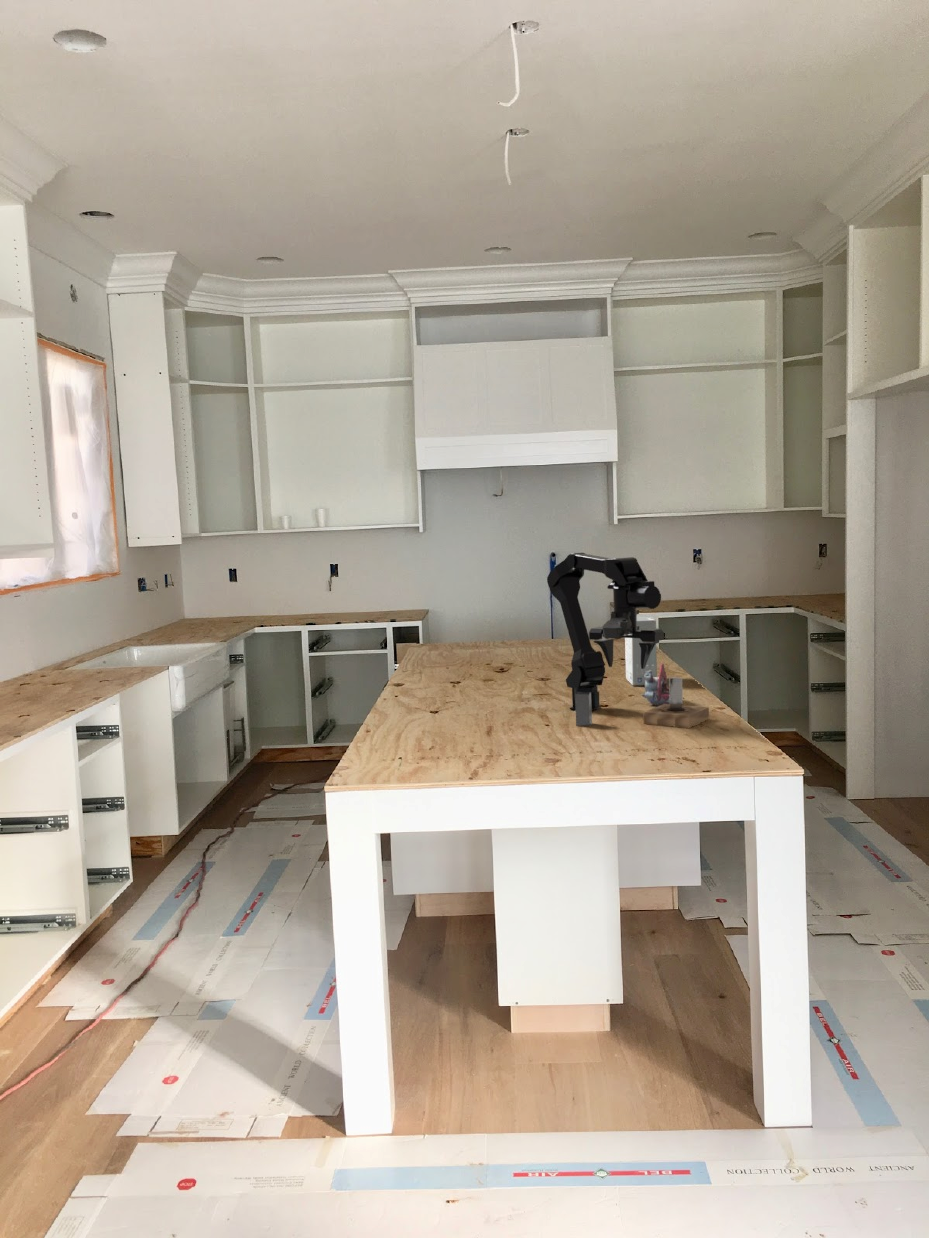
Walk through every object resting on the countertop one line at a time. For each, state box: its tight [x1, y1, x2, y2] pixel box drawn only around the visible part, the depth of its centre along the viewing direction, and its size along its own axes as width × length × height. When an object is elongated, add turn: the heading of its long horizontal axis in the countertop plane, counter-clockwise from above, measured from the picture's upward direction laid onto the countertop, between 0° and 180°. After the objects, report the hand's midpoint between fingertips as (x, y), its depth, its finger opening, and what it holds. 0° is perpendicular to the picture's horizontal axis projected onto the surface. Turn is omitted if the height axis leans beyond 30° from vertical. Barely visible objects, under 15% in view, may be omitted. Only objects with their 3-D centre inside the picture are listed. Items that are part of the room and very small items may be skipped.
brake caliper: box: [641, 663, 670, 706], centre depth 273 cm, size 11×11×12 cm
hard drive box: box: [624, 616, 658, 687], centre depth 308 cm, size 16×8×20 cm, turn 179°
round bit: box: [668, 676, 684, 712], centre depth 247 cm, size 3×3×11 cm
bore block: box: [643, 704, 710, 729], centre depth 248 cm, size 12×12×3 cm
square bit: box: [575, 692, 593, 727], centre depth 249 cm, size 3×3×8 cm
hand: (626, 667), depth 254 cm, fingers open, 9 cm apart
